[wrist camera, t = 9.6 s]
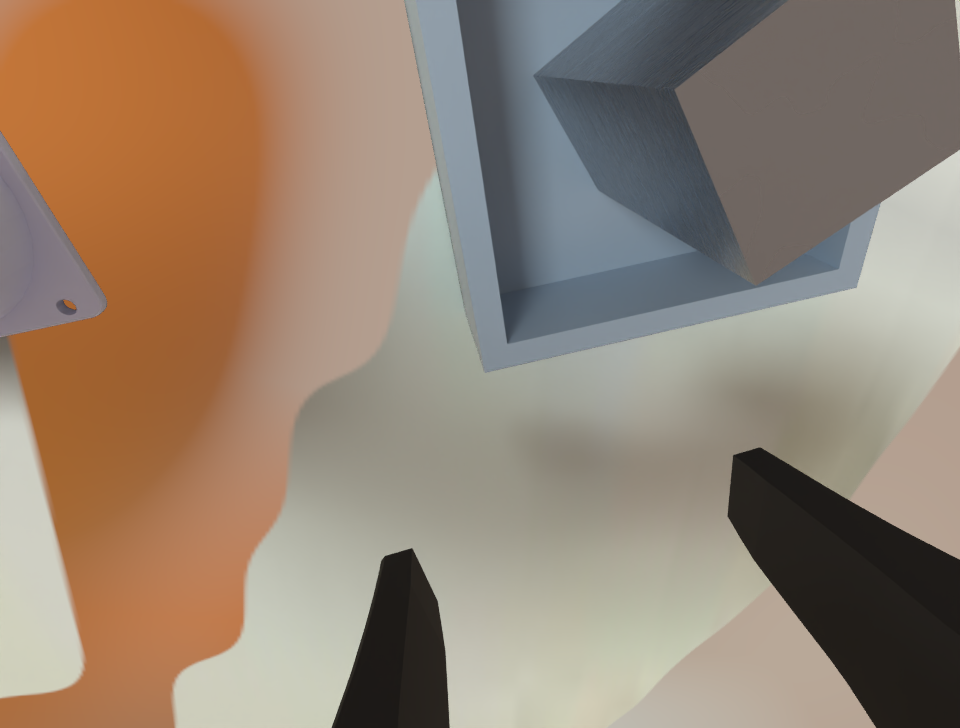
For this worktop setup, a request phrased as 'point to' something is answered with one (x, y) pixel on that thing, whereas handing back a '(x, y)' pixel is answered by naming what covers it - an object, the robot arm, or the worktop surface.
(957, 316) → the worktop surface
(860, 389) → the worktop surface
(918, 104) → the strut
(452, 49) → the bin
